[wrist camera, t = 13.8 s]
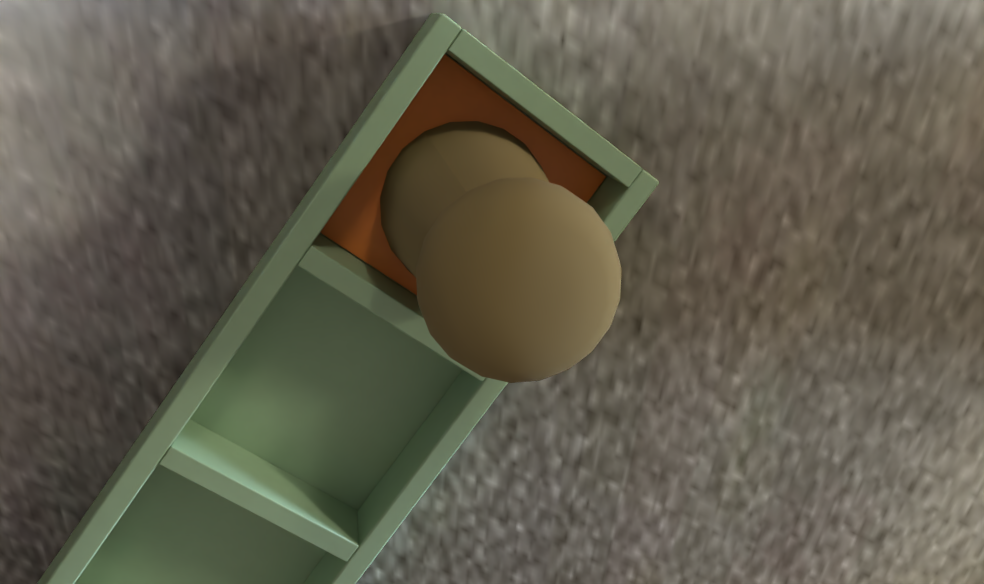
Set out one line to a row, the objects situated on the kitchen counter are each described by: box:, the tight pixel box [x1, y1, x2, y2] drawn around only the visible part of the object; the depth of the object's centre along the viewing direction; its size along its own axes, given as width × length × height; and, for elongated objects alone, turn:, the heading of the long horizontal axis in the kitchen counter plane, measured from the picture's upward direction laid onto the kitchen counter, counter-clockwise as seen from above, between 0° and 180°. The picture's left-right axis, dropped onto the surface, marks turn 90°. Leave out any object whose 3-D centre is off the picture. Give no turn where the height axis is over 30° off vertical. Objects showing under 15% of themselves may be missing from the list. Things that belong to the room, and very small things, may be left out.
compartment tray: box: [37, 13, 659, 584], centre depth 32 cm, size 9×26×3 cm, turn 143°
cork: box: [380, 121, 621, 383], centre depth 26 cm, size 6×6×11 cm
